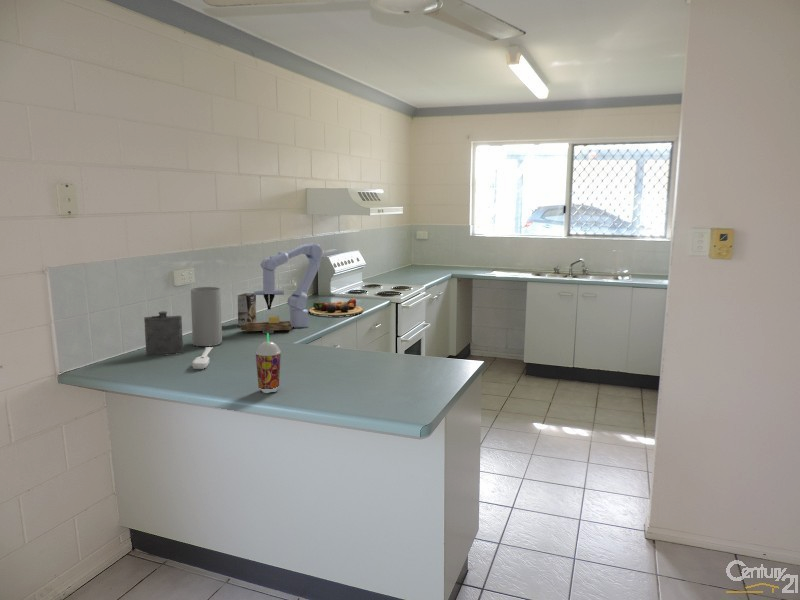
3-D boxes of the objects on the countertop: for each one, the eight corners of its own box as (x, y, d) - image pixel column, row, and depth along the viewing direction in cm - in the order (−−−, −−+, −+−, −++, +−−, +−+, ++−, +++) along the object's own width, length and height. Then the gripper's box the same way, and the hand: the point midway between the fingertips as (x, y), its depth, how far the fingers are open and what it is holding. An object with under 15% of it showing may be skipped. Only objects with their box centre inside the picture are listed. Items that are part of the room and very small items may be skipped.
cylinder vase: (225, 345, 261) (223, 289, 257) (196, 348, 254) (194, 291, 250) (218, 339, 271) (216, 286, 267) (190, 342, 265) (187, 287, 261)
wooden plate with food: (348, 306, 368) (348, 293, 366) (372, 314, 341) (372, 300, 339) (300, 311, 352) (300, 298, 350) (321, 320, 325) (321, 305, 323)
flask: (182, 354, 245) (181, 311, 242) (145, 356, 241) (143, 313, 238) (183, 351, 249) (181, 310, 246) (146, 353, 244) (144, 311, 241)
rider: (279, 324, 294) (278, 315, 293) (279, 326, 289) (279, 317, 288) (268, 325, 293) (268, 316, 292) (269, 327, 288) (268, 317, 287)
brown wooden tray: (289, 326, 297) (289, 320, 296) (290, 329, 289) (290, 323, 289) (240, 327, 291) (240, 322, 290) (240, 331, 283) (240, 325, 283)
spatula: (202, 353, 248) (202, 346, 247) (216, 353, 249) (216, 346, 248) (190, 370, 220) (190, 363, 220) (206, 370, 221) (206, 363, 221)
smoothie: (258, 387, 203) (257, 330, 200) (282, 387, 203) (281, 330, 200) (254, 395, 195) (253, 336, 191) (279, 394, 195) (279, 336, 192)
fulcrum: (272, 329, 295) (272, 326, 295) (273, 333, 287) (273, 330, 287) (262, 329, 294) (262, 327, 294) (262, 333, 286) (262, 330, 285)
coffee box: (249, 326, 301) (248, 295, 299) (237, 326, 302) (236, 295, 300) (257, 323, 310) (256, 293, 307) (245, 322, 311) (245, 292, 309)
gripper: (253, 283, 286) (254, 310, 288) (284, 283, 290) (284, 310, 292) (253, 281, 293) (254, 308, 295) (283, 281, 296) (283, 307, 298)
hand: (269, 309), depth 294 cm, fingers closed
